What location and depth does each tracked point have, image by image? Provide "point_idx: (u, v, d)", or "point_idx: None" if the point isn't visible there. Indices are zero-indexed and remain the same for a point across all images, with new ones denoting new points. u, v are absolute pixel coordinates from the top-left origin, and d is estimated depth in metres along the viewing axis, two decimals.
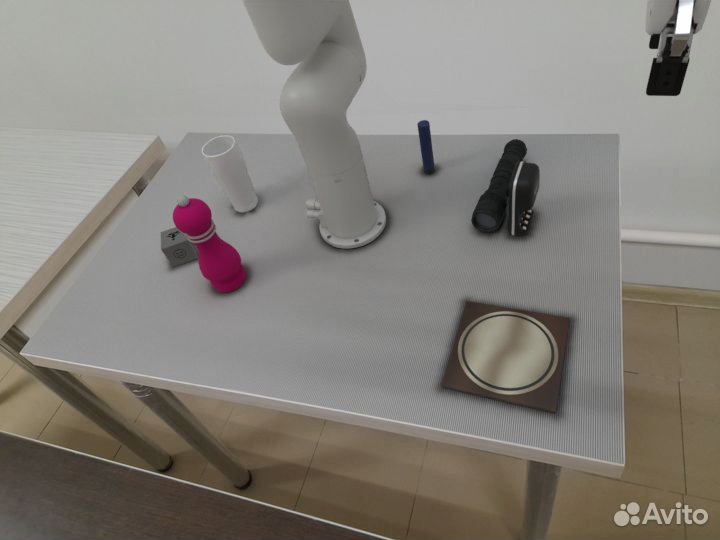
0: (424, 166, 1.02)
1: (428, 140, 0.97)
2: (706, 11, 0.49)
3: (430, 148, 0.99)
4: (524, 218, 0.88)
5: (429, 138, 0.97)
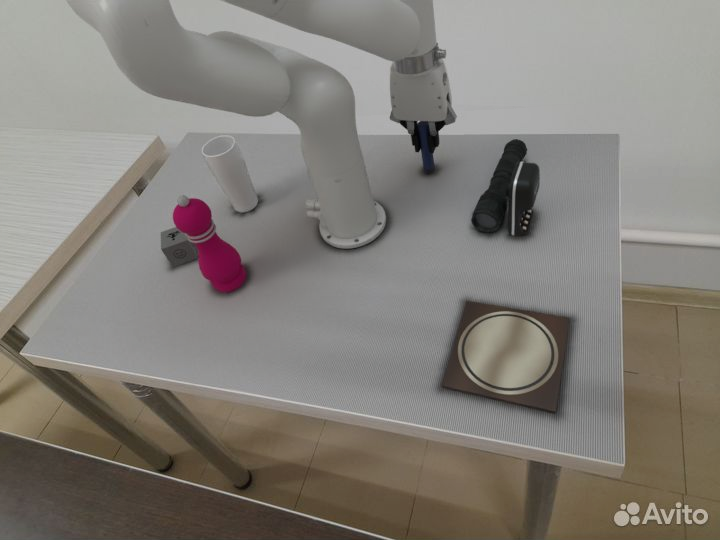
0: (424, 166, 1.02)
1: None
2: (392, 108, 0.93)
3: None
4: (524, 218, 0.88)
5: None
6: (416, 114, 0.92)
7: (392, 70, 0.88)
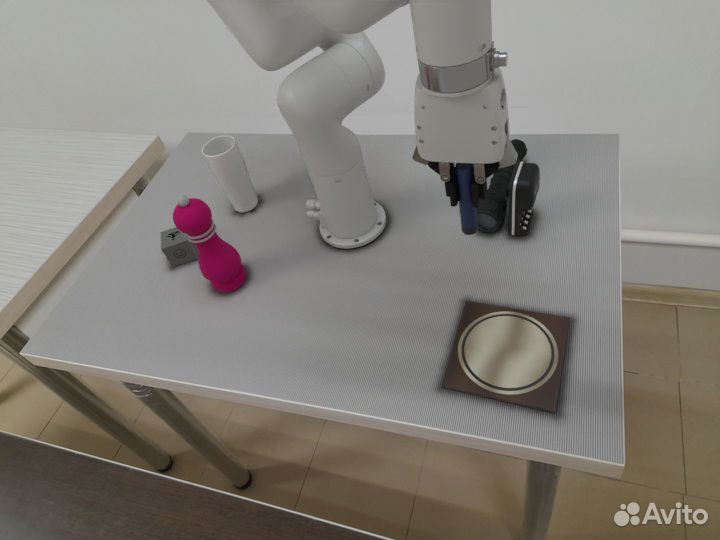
0: (463, 224, 0.70)
1: None
2: (417, 144, 0.61)
3: None
4: (524, 218, 0.88)
5: None
6: (455, 153, 0.60)
7: (419, 87, 0.55)
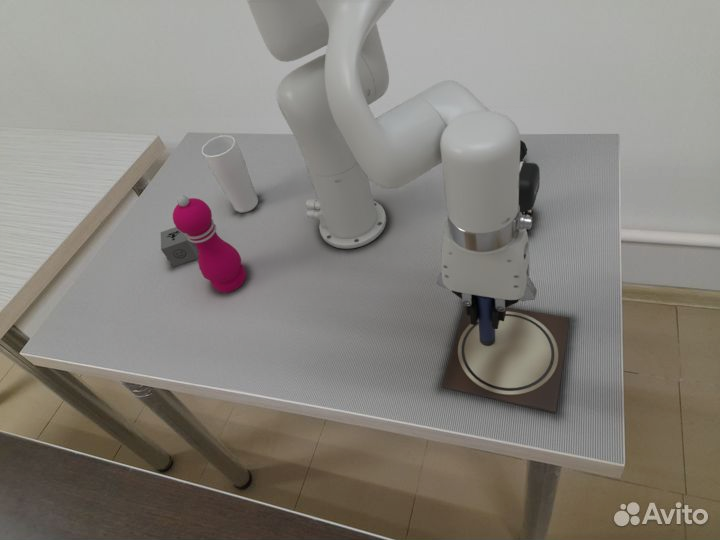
0: (481, 337, 0.74)
1: (491, 312, 0.69)
2: (442, 277, 0.65)
3: None
4: None
5: None
6: (479, 289, 0.63)
7: (447, 237, 0.59)
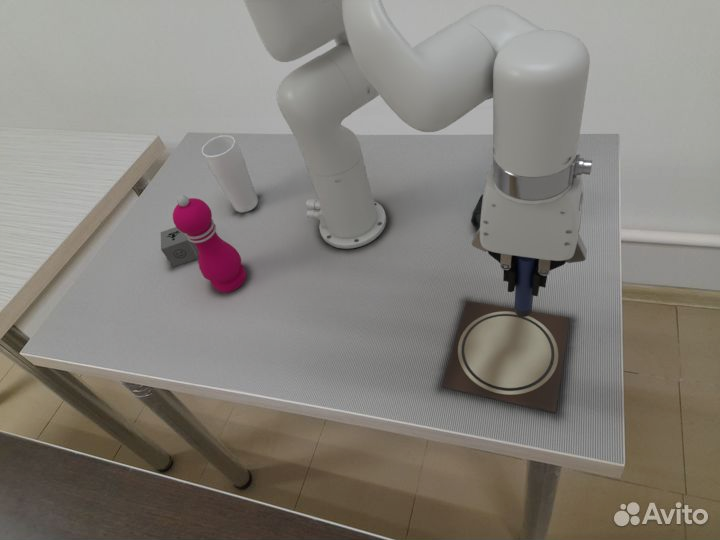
0: (517, 306, 0.67)
1: (532, 277, 0.62)
2: (480, 235, 0.58)
3: None
4: None
5: None
6: (522, 249, 0.56)
7: (491, 186, 0.52)
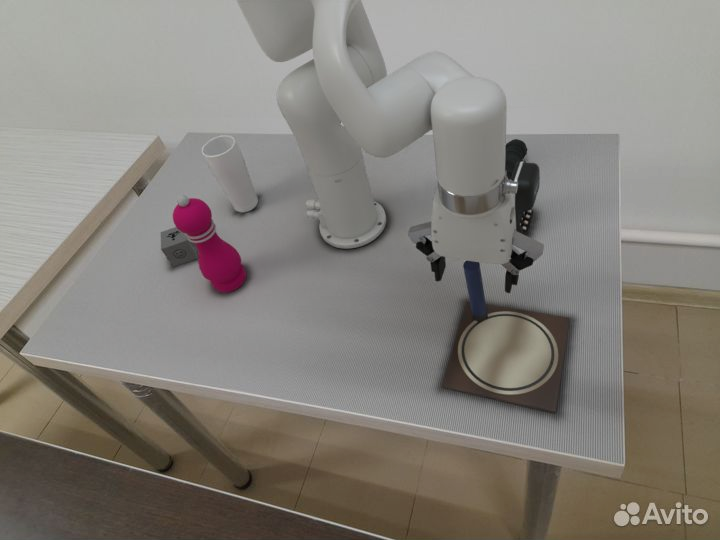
0: (473, 312, 0.77)
1: (479, 284, 0.72)
2: (432, 242, 0.67)
3: (481, 293, 0.74)
4: (524, 218, 0.88)
5: (480, 282, 0.72)
6: (467, 254, 0.66)
7: (437, 201, 0.62)
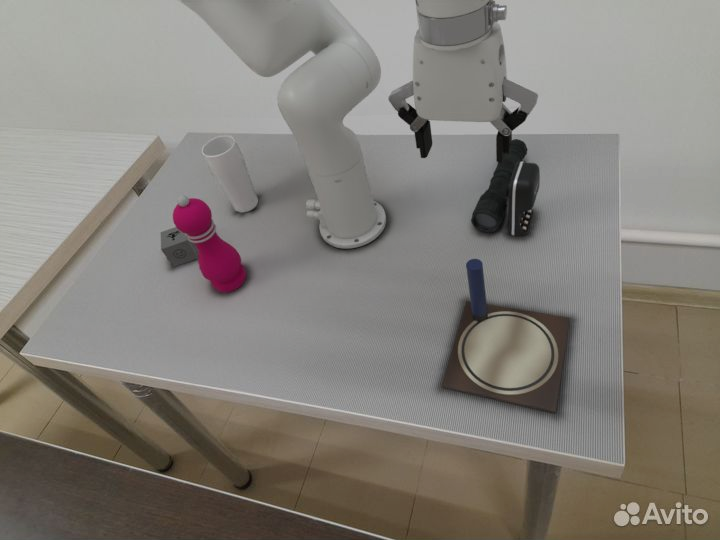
0: (474, 312, 0.77)
1: (481, 284, 0.72)
2: (415, 101, 0.61)
3: (483, 293, 0.74)
4: (524, 218, 0.88)
5: (482, 282, 0.72)
6: (453, 111, 0.60)
7: (418, 41, 0.56)
